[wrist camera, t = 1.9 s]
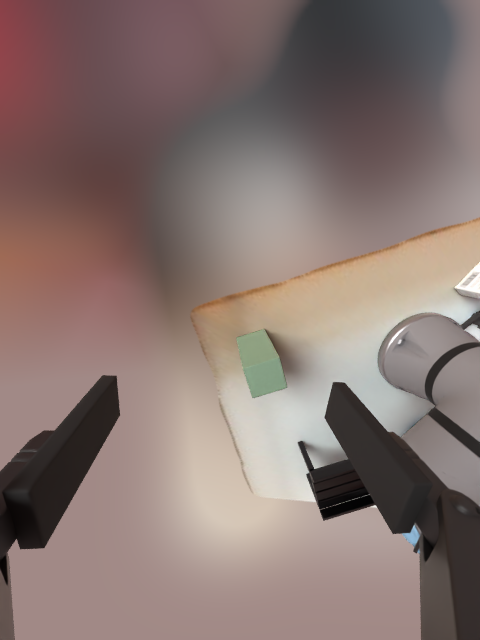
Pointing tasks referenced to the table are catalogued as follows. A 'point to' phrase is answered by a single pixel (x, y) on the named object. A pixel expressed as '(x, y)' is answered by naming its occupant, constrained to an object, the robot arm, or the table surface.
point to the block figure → (477, 321)
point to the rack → (336, 487)
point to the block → (261, 364)
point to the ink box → (470, 283)
